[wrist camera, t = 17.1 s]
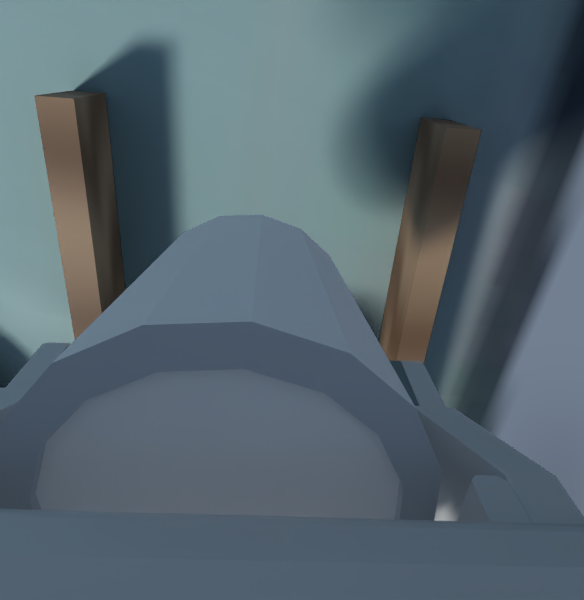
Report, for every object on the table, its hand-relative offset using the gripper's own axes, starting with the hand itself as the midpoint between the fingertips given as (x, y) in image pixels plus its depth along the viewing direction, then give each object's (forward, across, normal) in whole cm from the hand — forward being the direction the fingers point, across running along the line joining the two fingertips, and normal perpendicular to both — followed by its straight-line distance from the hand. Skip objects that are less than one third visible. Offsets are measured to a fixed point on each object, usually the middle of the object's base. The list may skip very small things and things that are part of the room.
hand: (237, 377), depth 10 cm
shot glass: (+4, 0, 0) cm, 4 cm away
